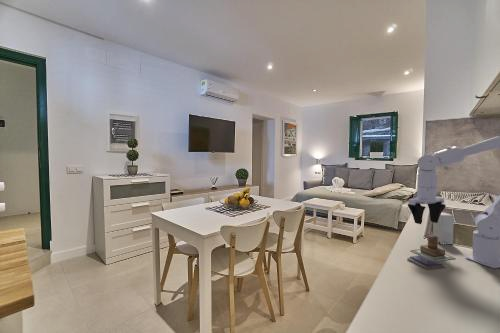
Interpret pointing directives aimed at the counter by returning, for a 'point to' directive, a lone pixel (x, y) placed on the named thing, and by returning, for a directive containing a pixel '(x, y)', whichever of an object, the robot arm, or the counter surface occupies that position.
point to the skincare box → (444, 228)
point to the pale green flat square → (446, 257)
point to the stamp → (432, 247)
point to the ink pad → (425, 262)
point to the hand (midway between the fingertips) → (426, 222)
